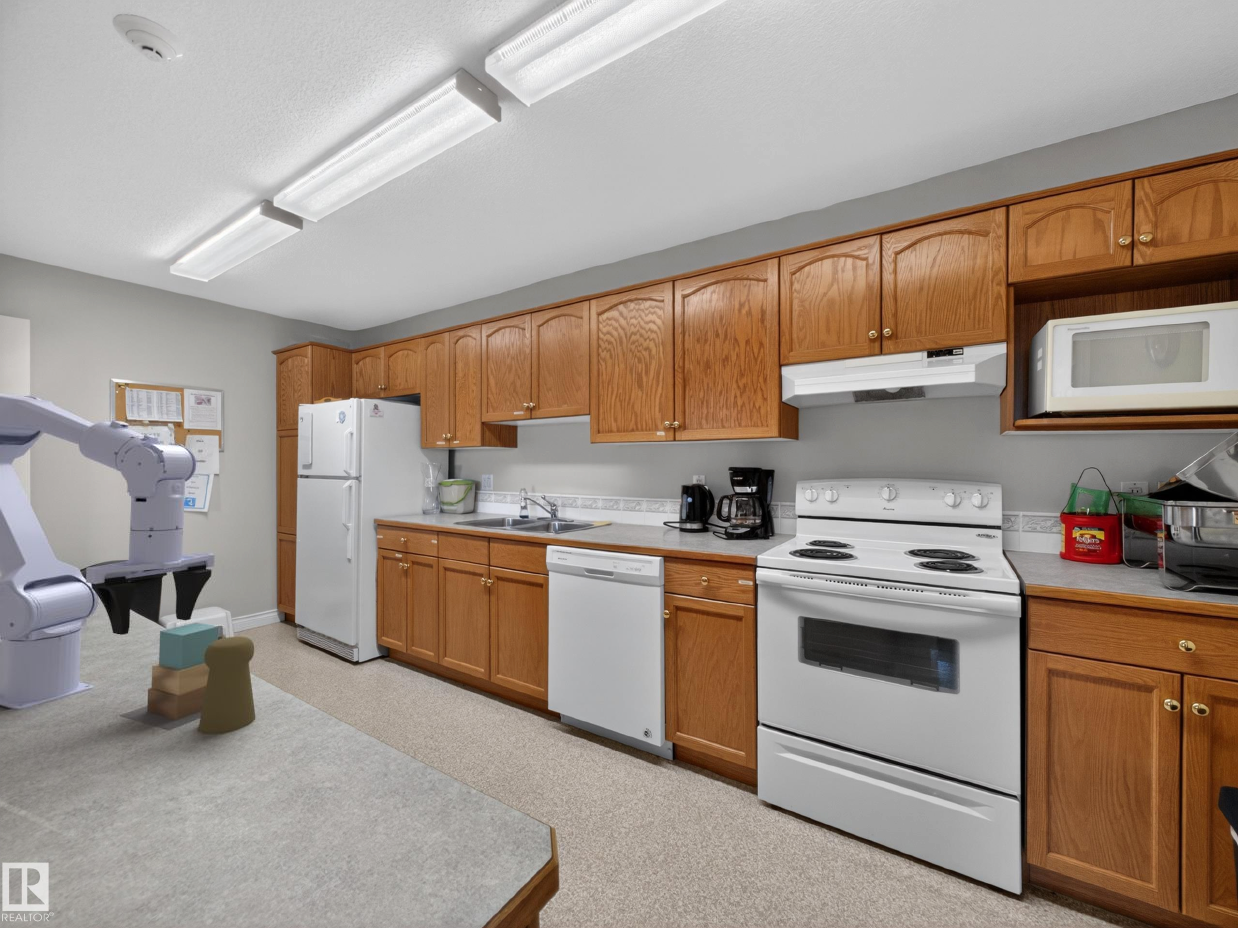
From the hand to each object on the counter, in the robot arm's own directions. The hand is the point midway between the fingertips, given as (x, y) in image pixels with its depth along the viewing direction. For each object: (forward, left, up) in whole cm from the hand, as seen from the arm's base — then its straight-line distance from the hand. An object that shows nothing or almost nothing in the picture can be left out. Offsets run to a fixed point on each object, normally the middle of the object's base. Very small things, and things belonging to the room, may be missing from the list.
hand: (153, 625), depth 76 cm
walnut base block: (+8, 0, -10) cm, 13 cm away
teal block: (+8, 0, -4) cm, 9 cm away
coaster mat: (+8, 0, -10) cm, 13 cm away
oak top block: (+8, 0, -7) cm, 10 cm away
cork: (+17, -1, -11) cm, 20 cm away
